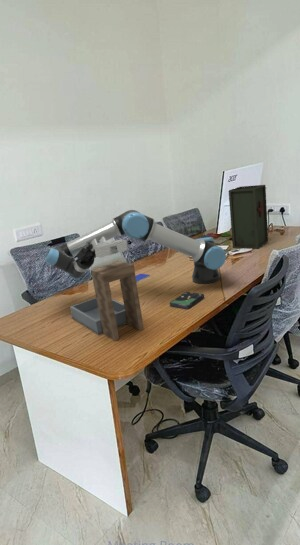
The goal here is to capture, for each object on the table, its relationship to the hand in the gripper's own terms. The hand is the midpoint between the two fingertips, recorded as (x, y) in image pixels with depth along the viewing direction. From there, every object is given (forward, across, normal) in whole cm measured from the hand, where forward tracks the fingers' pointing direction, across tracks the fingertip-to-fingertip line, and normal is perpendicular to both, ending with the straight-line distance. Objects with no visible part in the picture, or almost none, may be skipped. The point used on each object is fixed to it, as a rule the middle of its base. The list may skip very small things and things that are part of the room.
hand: (100, 240), depth 149 cm
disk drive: (-16, -37, -36) cm, 54 cm away
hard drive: (-62, -44, -10) cm, 76 cm away
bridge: (-14, 0, -36) cm, 39 cm away
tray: (-30, 0, -27) cm, 40 cm away
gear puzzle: (-87, -143, +5) cm, 167 cm away
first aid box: (-53, -134, -14) cm, 145 cm away
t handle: (-1, 0, -4) cm, 4 cm away
